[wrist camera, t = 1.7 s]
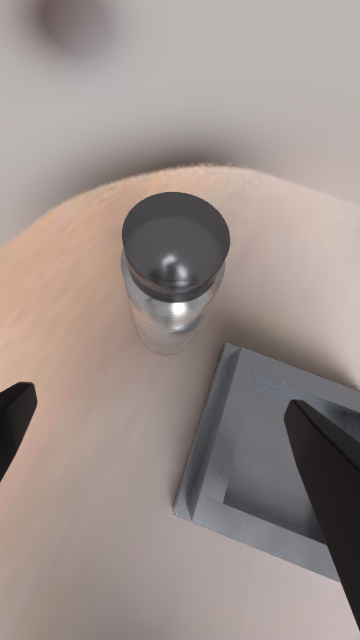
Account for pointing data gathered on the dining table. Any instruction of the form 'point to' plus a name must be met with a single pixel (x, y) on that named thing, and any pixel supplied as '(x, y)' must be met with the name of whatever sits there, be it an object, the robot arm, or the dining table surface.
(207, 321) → the dining table surface
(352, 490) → the robot arm
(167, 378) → the dining table surface
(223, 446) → the grey tray with handle
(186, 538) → the dining table surface
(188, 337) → the steel vacuum flask
